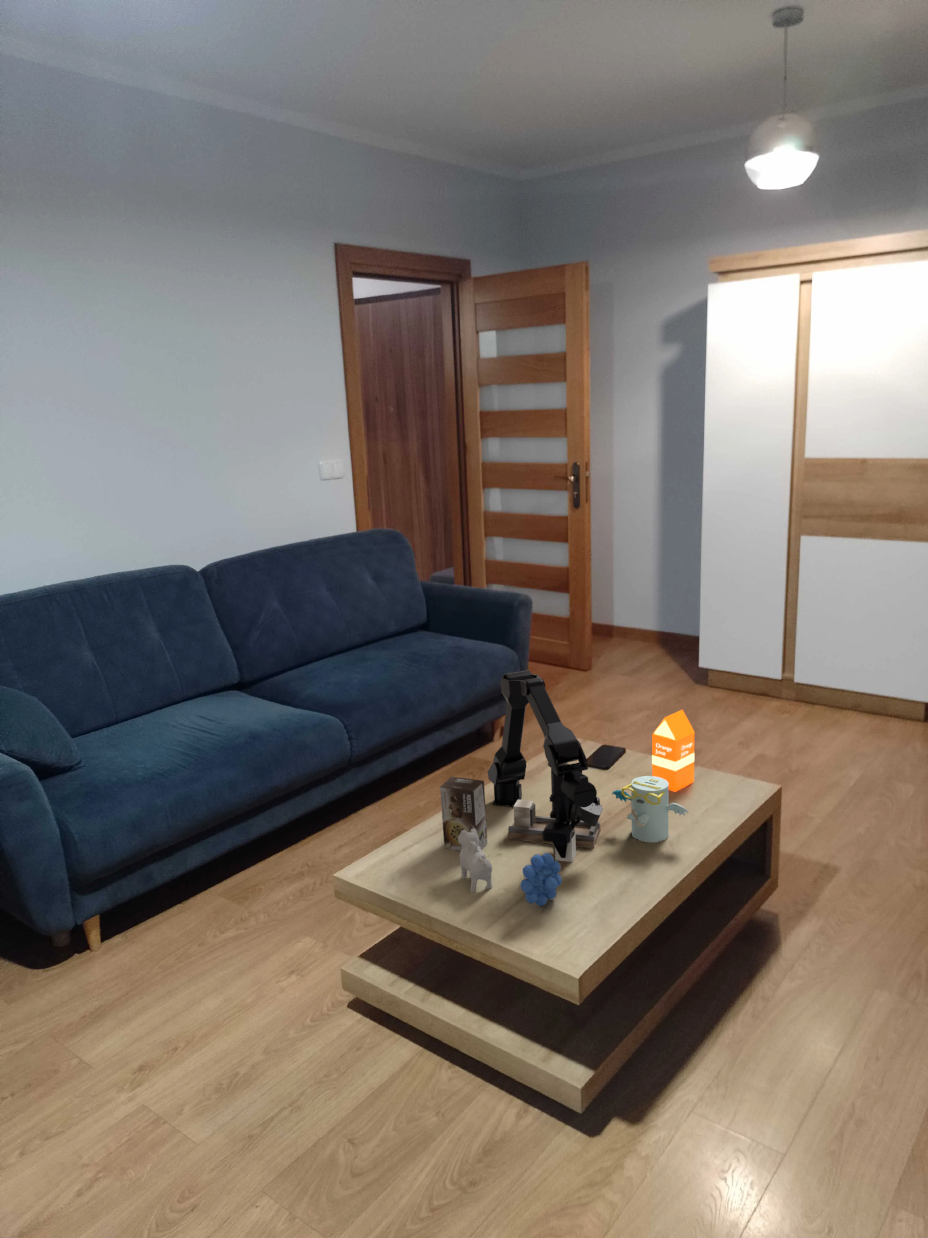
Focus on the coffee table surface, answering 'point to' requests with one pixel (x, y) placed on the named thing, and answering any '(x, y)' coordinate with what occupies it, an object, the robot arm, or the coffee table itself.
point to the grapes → (541, 879)
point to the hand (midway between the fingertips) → (565, 852)
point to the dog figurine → (474, 859)
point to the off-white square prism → (570, 850)
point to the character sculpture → (649, 807)
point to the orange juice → (674, 751)
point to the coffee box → (463, 810)
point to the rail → (533, 826)
